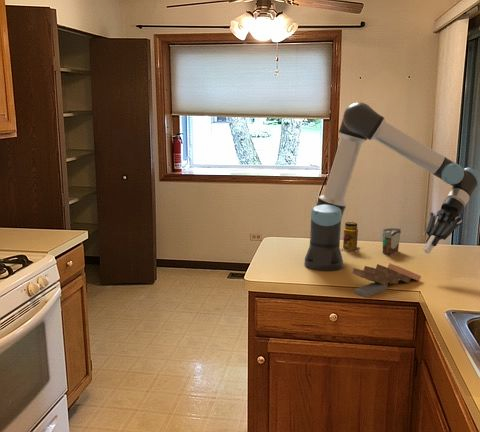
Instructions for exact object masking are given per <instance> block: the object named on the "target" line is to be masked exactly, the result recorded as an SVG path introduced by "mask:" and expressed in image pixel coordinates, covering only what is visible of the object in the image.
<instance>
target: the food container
mask: <svg viewBox="0 0 480 432" xmlns="http://www.w3.org/2000/svg"><path fill="white" fill-rule="evenodd" d="M401 229H402V228H397V227H394V228H393V227H391V228H383V229H382V231H381V237H382V254H383V255H386V256H390V257H391V256H393V255H394V254H396V253H397V252H399V246H400V240H401V239H400V238H401V233H402V232H401V231H402V230H401Z"/></svg>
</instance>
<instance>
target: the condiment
mask: <svg viewBox="0 0 480 432" xmlns="http://www.w3.org/2000/svg"><path fill="white" fill-rule="evenodd" d="M344 225H345V226H344V229H343V238H342V239H343V241H342V247H343V249H344V250H342V248H340V251H345V252H357V253H358V251H359V250H360V248H361V246H358V235H359V234H358V232H359V229H358V223H357V222H353V221H347V222H345V224H344Z"/></svg>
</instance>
